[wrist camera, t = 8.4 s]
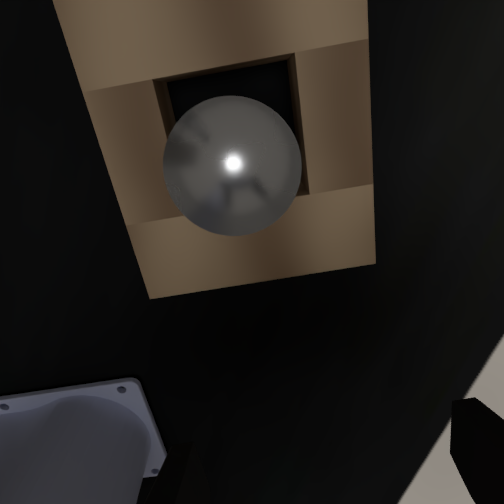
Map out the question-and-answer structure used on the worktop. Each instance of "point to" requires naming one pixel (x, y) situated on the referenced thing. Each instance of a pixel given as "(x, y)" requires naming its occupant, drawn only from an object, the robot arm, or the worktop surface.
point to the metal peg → (232, 165)
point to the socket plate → (163, 121)
